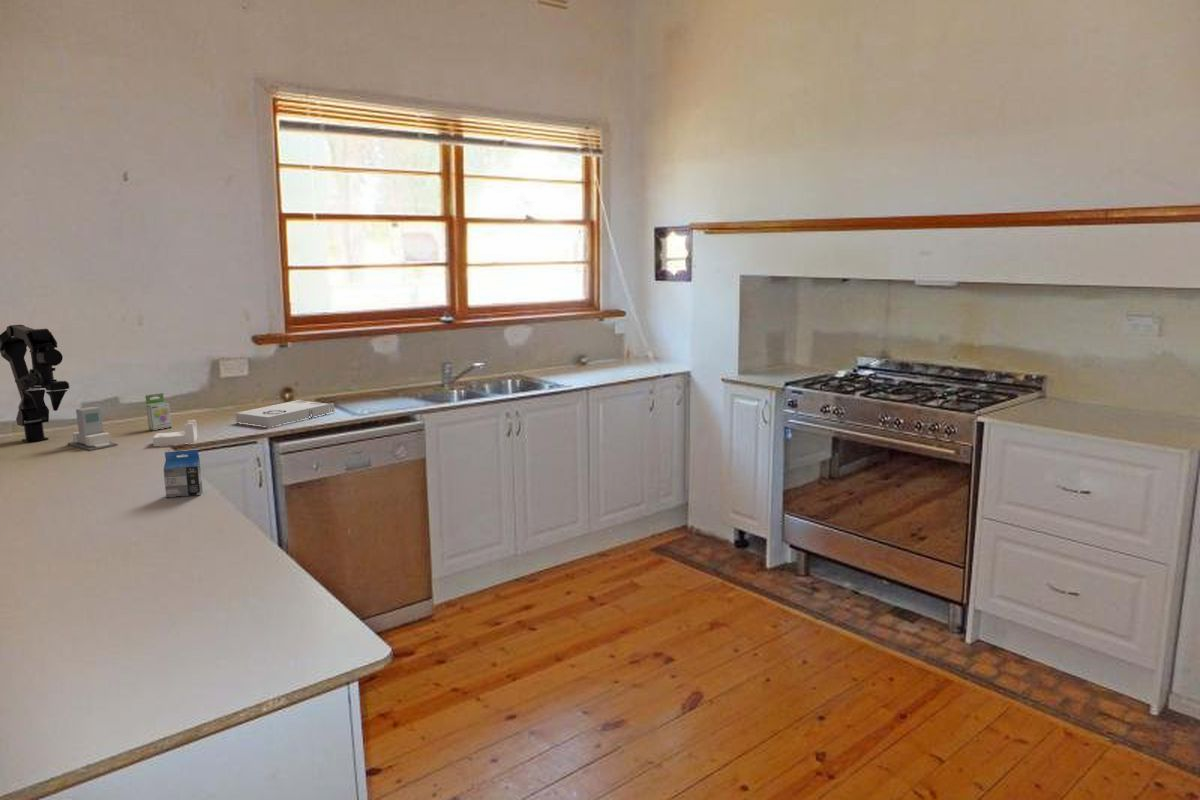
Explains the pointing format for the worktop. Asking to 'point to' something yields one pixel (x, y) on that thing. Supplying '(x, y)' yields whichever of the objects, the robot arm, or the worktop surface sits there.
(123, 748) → the worktop surface
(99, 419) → the grey module
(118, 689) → the worktop surface
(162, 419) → the ink box
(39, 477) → the worktop surface
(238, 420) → the power supply unit
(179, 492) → the blue retail package
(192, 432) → the bracket
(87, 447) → the module rail
